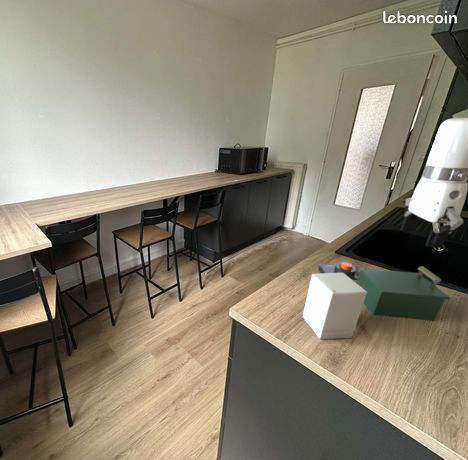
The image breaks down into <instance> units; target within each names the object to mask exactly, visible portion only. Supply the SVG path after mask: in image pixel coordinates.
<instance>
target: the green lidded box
mask: <svg viewBox="0 0 468 460" xmlns="http://www.w3.org/2000/svg"><path fill="white" fill-rule="evenodd" d="M357 277H358V279H357V280H356V282H355V283H356V284H358V285H359V286H360V287H362V288H363V289H364V290H365V291H367V295H366V298H365V301H364V303H363V305H365V306H366V308H367V309H368V311H369V312H370V313H371V314H372V315H373V316H380V317H389V318H390V317H391V318H401V319H409V320H410V319H411V320H421V321H429V322H430V321H431V322H434V321H436V319H437V317H438V315H439V313H440V310H441V309H442V307H443V304H444V302H445V300H446V299H435V298H423V297H411V296H399V295H387V294H381V293H380V292H379V291H378V290H377V289H376V288H375V287H374V286H373V285H372V284H371V283H370V281H369V280H368V279H367V278H366V277H365V276H364V275H363V274H362V273H361V272H360V271H359V273H358V275H357Z"/></svg>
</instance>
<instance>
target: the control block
mask: <svg viewBox="0 0 468 460" xmlns="http://www.w3.org/2000/svg"><path fill="white" fill-rule="evenodd" d="M341 263H342V262H337V263H336V264H335V265H329V264H319V265H318V268H317V269H318V271H319V274H323V273H344V274H345V275H347V276H348V277H349V278H350V279H352V280H353V281H357V279H358V275H357V274H356V273H357V270H358V269H357V268H356V267H355V266H354V265H352V268H351V270H344V269H342V268H340V266H341Z"/></svg>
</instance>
